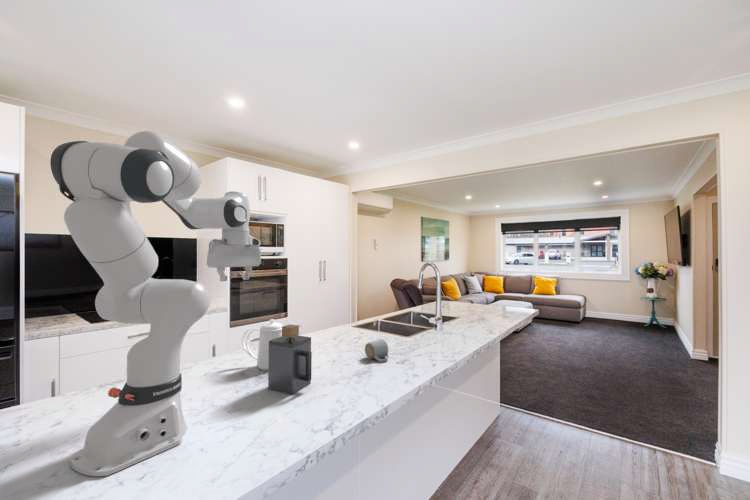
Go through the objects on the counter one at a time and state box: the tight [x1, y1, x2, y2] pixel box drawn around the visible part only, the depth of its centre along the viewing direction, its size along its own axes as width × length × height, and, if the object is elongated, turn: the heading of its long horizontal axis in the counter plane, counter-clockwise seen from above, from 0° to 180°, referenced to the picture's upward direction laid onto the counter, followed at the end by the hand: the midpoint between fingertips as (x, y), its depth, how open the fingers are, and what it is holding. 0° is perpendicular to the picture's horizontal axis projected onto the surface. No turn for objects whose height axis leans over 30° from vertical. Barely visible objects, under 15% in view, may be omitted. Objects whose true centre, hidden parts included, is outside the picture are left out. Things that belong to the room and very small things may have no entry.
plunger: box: [282, 324, 300, 340], centre depth 114 cm, size 7×7×19 cm
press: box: [267, 335, 312, 396], centre depth 114 cm, size 10×13×16 cm
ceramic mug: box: [364, 338, 389, 363], centre depth 144 cm, size 11×8×8 cm
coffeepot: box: [242, 319, 304, 371], centre depth 134 cm, size 11×25×19 cm, turn 84°
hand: (235, 280), depth 115 cm, fingers open, 8 cm apart
